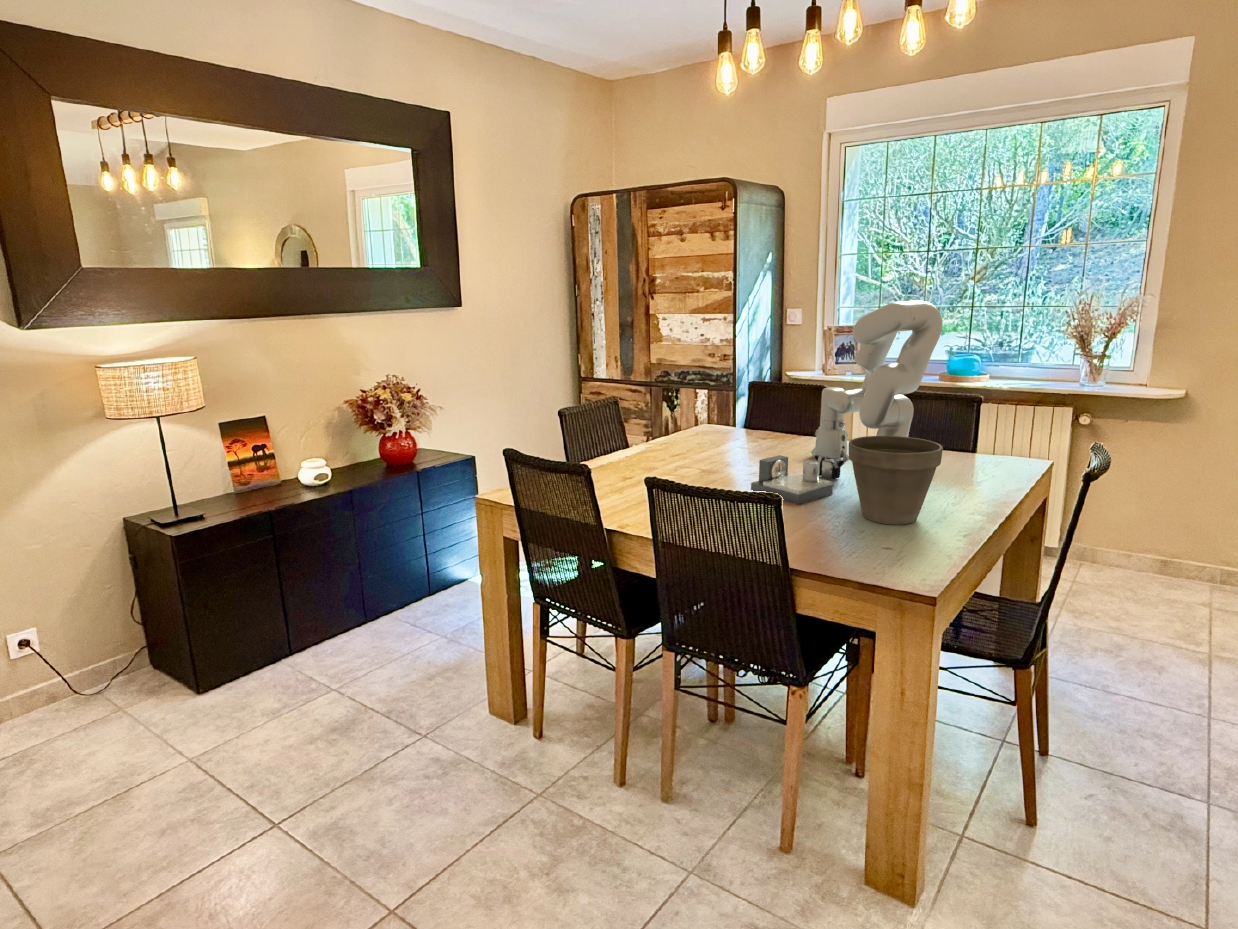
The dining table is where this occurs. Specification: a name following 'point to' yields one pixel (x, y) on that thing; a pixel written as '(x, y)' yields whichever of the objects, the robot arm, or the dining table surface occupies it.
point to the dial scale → (788, 482)
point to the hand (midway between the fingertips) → (828, 476)
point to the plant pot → (893, 475)
